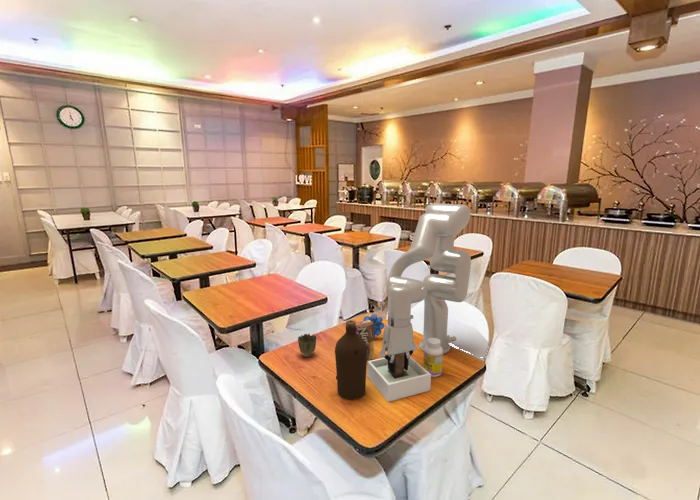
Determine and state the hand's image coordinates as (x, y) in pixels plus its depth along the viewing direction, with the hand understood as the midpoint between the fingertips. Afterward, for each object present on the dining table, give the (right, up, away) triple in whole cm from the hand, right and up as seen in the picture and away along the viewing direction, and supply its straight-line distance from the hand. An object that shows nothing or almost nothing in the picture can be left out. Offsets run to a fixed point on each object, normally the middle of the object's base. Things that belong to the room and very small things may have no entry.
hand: (398, 369), depth 124 cm
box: (0, -5, +1) cm, 5 cm away
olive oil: (-16, -7, -3) cm, 18 cm away
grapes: (-7, +2, +35) cm, 36 cm away
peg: (0, -4, +1) cm, 4 cm away
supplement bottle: (+14, -4, +7) cm, 16 cm away
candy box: (-12, -2, +18) cm, 21 cm away
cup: (-34, -2, +21) cm, 40 cm away
